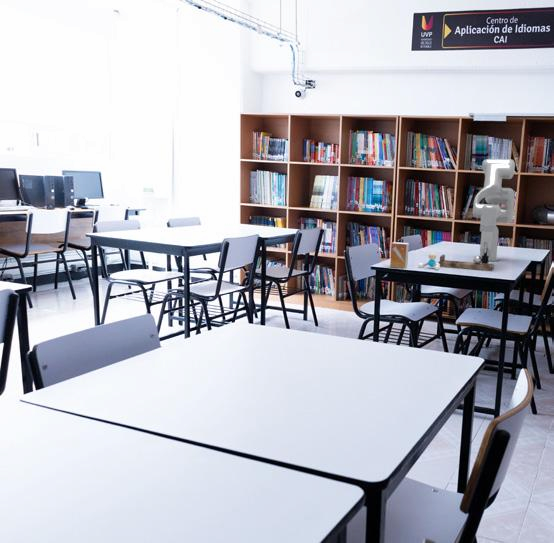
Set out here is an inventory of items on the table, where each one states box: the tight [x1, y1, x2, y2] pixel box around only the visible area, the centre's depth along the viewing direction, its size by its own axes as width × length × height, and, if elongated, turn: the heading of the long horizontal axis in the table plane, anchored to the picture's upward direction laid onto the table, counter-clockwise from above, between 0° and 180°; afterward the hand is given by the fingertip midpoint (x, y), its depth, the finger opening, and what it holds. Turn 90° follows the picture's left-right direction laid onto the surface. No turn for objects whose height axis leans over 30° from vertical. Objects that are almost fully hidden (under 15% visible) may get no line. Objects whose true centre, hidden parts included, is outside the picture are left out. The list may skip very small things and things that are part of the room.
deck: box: [437, 254, 495, 272], centre depth 355 cm, size 28×10×6 cm, turn 68°
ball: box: [472, 255, 482, 264], centre depth 352 cm, size 4×4×4 cm
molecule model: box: [417, 252, 441, 271], centre depth 349 cm, size 12×12×9 cm
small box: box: [389, 241, 410, 269], centre depth 348 cm, size 8×6×13 cm
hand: (484, 263), depth 351 cm, fingers closed
